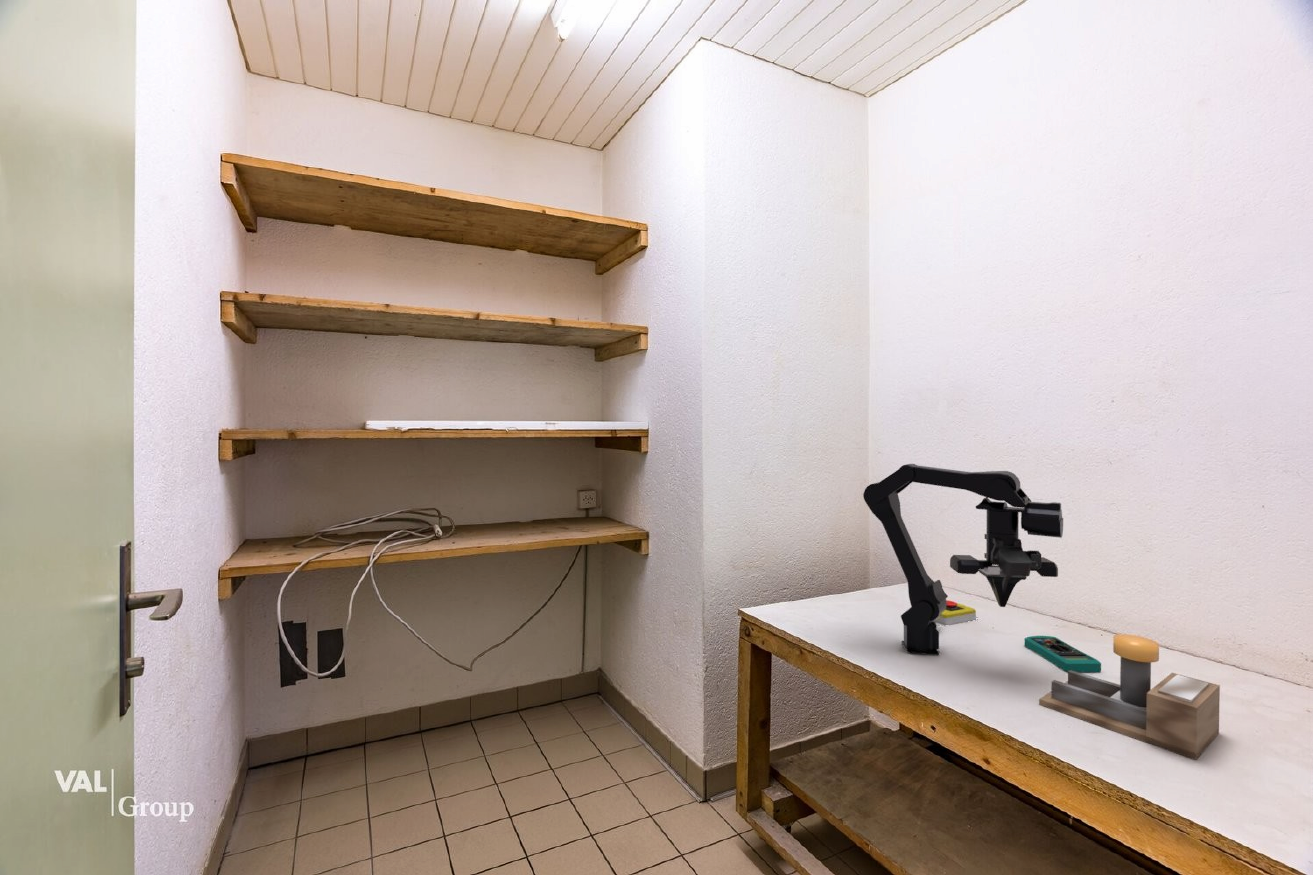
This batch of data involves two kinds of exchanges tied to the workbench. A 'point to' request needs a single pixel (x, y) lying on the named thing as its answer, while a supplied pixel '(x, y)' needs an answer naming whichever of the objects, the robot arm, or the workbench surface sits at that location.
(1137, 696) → the knob carriage
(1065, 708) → the knob mount
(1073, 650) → the digital multimeter
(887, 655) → the workbench surface
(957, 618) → the emergency button
